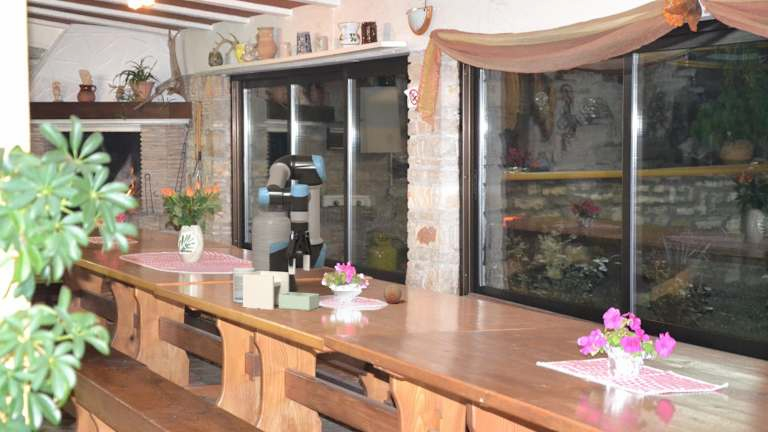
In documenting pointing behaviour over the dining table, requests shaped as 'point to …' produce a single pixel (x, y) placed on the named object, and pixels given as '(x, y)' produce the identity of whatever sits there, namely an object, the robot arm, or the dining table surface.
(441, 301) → the dining table surface
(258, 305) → the box
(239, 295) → the supplement tub
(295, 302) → the tray
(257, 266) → the vase
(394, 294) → the fruit
